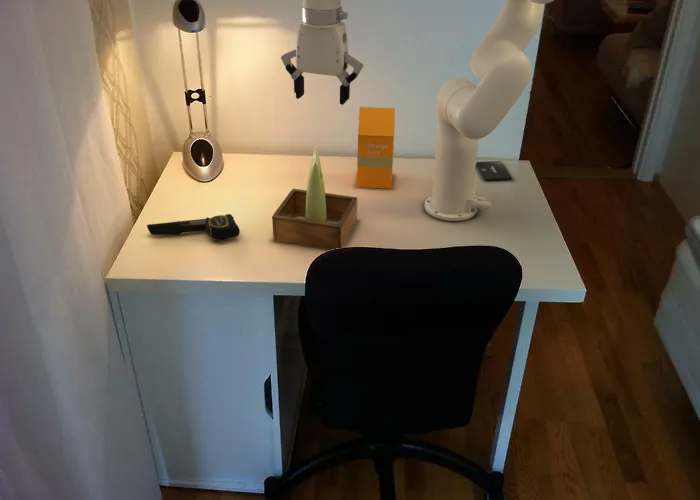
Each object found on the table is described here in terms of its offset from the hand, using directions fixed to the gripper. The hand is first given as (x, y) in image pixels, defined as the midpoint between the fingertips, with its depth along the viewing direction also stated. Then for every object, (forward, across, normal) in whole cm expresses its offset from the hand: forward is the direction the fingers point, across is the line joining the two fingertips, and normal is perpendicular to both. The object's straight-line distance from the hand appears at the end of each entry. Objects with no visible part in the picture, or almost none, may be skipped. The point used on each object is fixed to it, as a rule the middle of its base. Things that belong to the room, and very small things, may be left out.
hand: (321, 99), depth 145 cm
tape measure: (+30, +19, +12) cm, 38 cm away
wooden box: (+30, 0, +4) cm, 30 cm away
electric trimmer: (+31, +28, +14) cm, 44 cm away
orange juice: (+30, -6, -25) cm, 39 cm away
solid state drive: (+30, -34, -40) cm, 60 cm away
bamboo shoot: (+30, 0, +4) cm, 31 cm away
